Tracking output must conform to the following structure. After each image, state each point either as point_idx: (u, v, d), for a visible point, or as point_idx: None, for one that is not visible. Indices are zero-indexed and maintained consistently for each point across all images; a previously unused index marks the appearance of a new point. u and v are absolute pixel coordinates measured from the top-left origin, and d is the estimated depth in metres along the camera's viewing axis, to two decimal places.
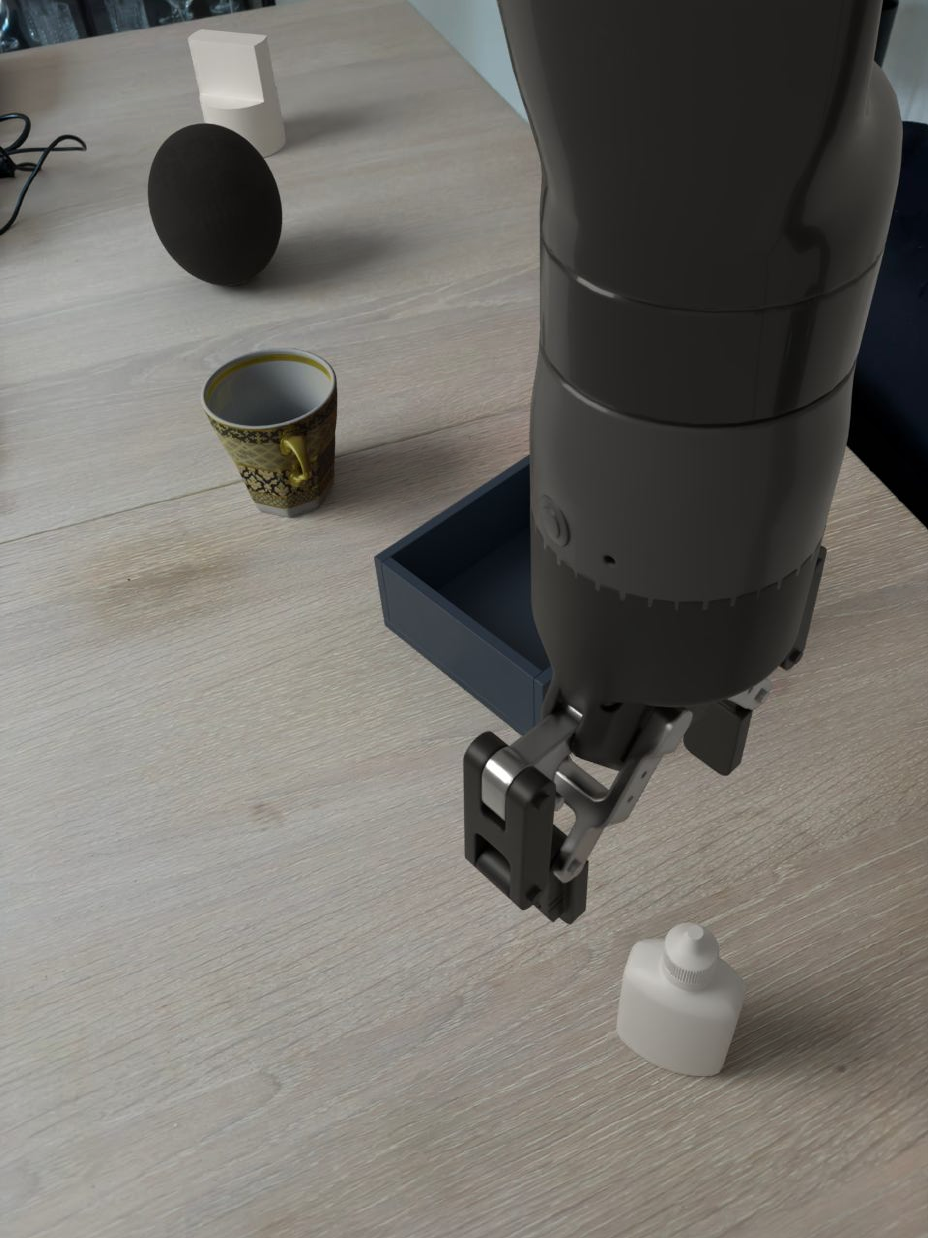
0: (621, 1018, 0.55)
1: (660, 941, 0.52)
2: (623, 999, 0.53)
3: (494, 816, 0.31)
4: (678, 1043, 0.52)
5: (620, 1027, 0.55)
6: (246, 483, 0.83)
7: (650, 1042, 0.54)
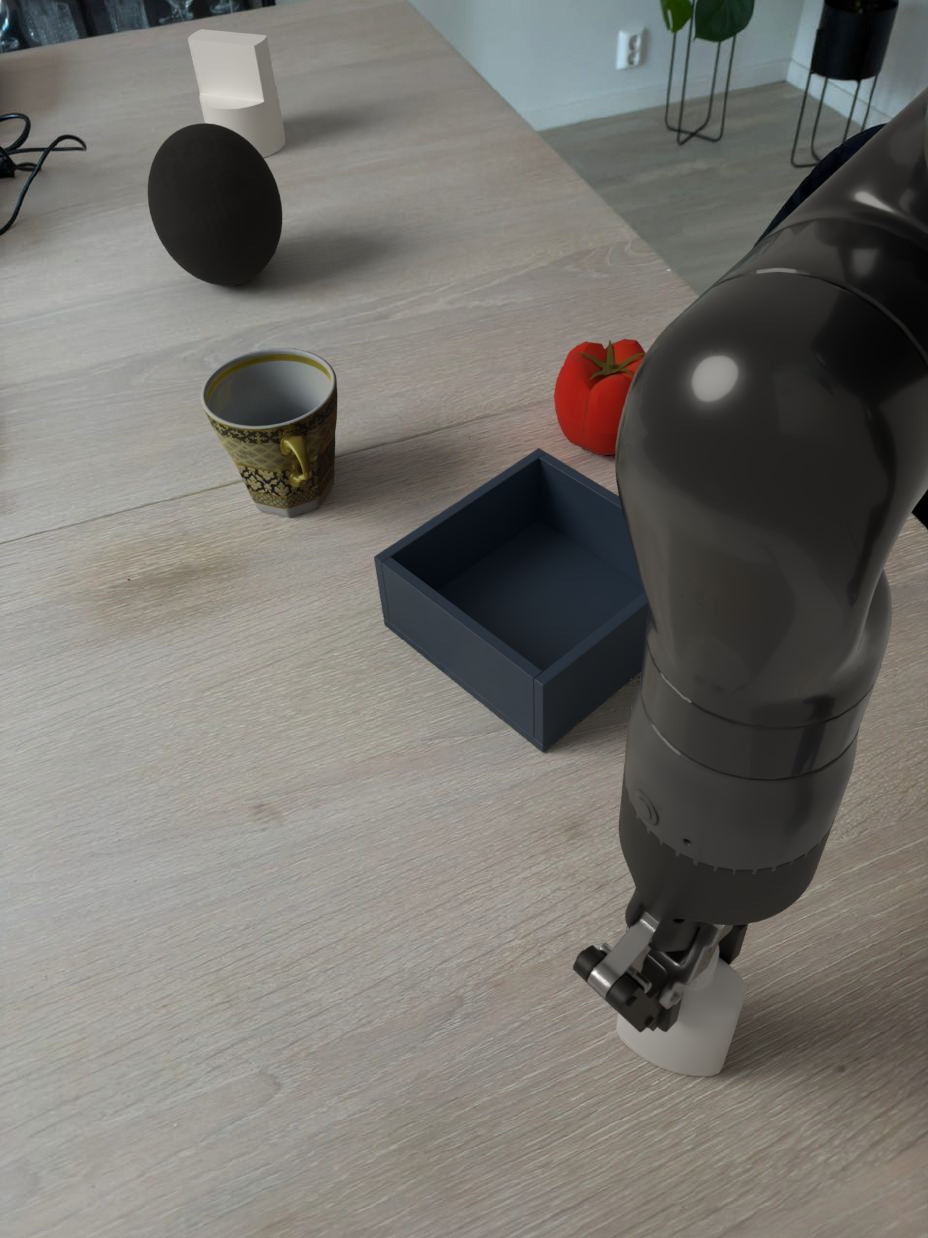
0: (621, 1018, 0.55)
1: None
2: None
3: None
4: (678, 1043, 0.52)
5: (620, 1027, 0.55)
6: (246, 483, 0.83)
7: (650, 1042, 0.54)
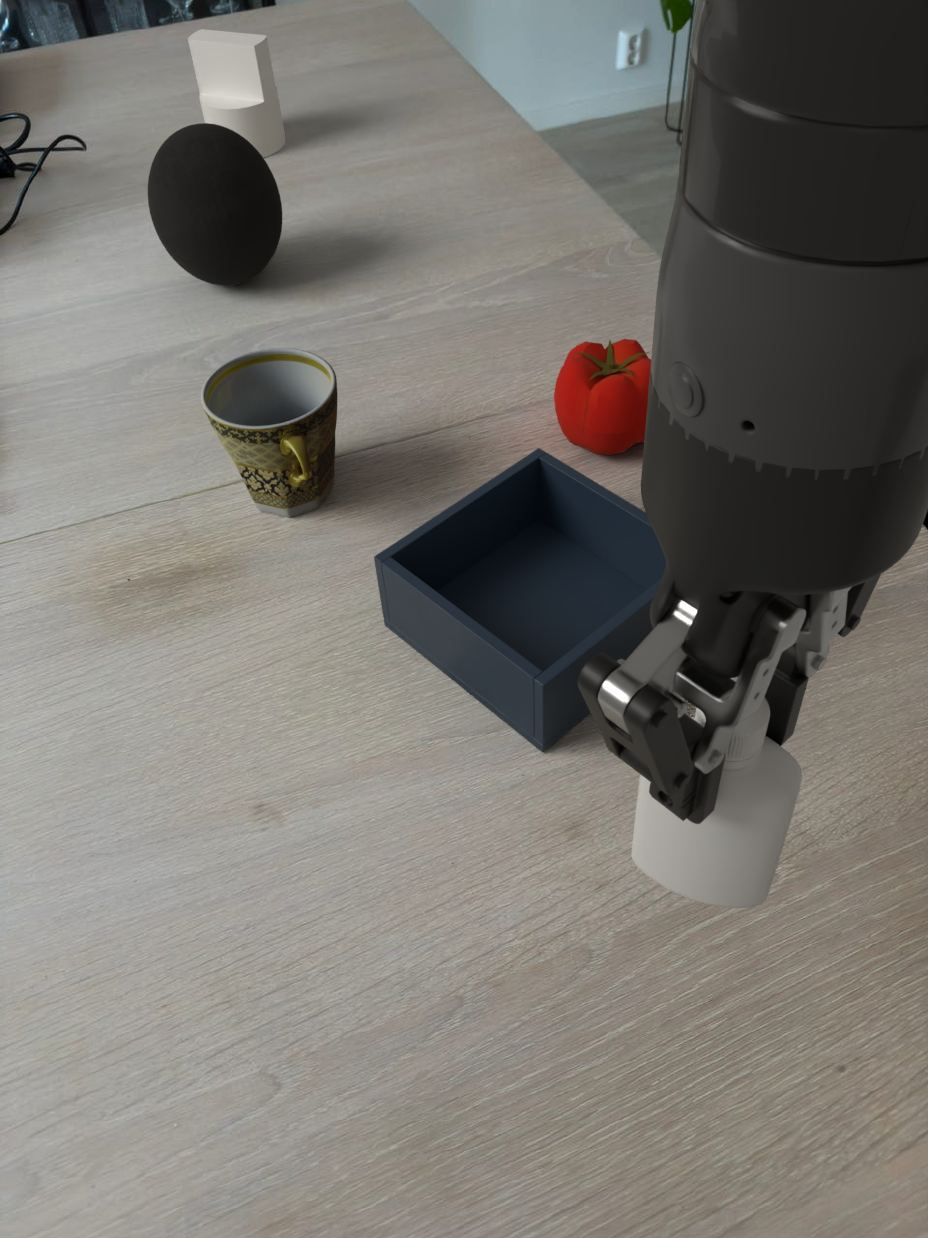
0: (638, 832, 0.43)
1: None
2: (641, 800, 0.41)
3: None
4: (712, 854, 0.41)
5: (637, 847, 0.44)
6: (246, 483, 0.83)
7: (675, 860, 0.42)
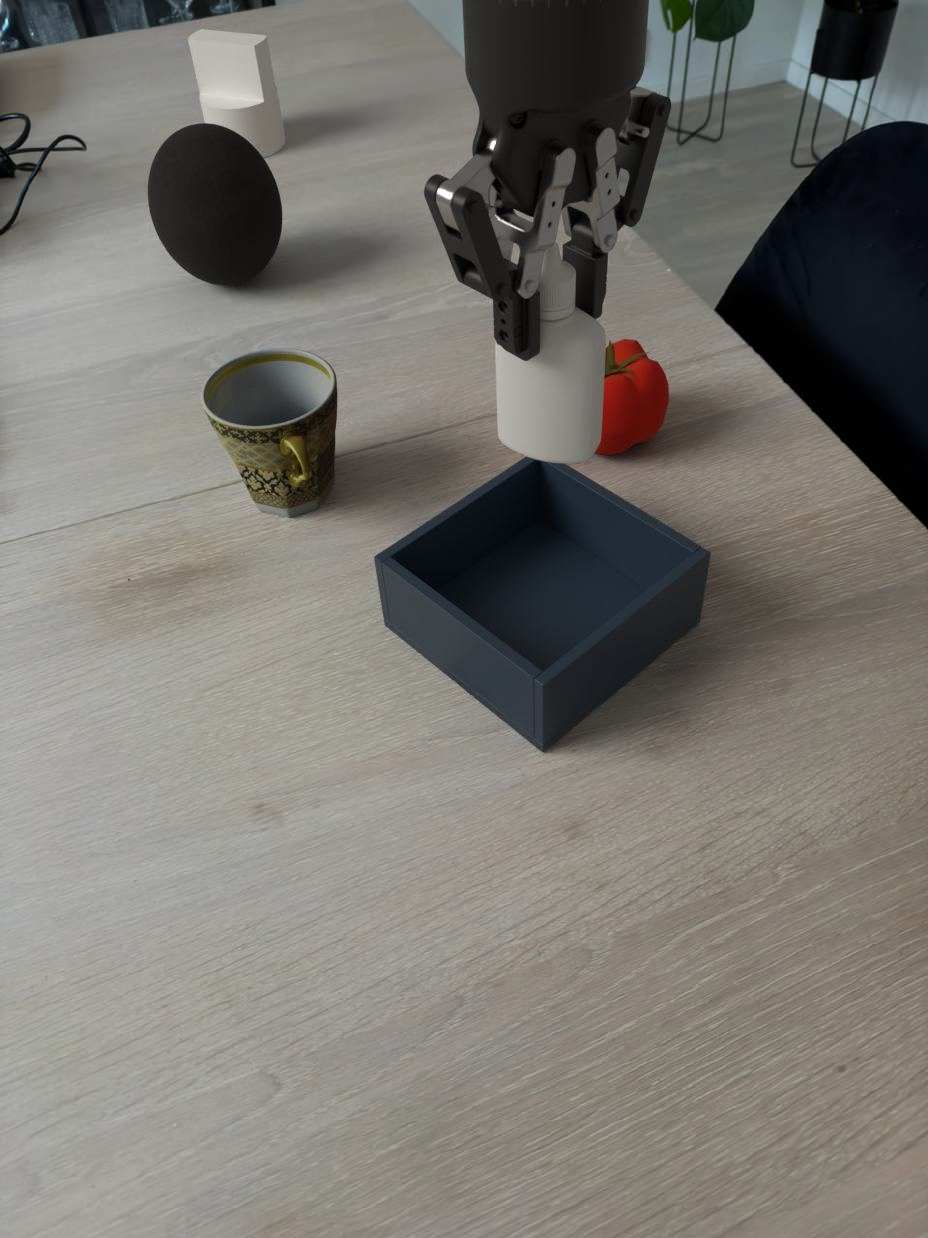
0: (499, 404, 0.59)
1: None
2: (497, 370, 0.57)
3: (457, 234, 0.47)
4: (546, 404, 0.57)
5: (500, 421, 0.60)
6: (246, 483, 0.83)
7: (524, 419, 0.58)
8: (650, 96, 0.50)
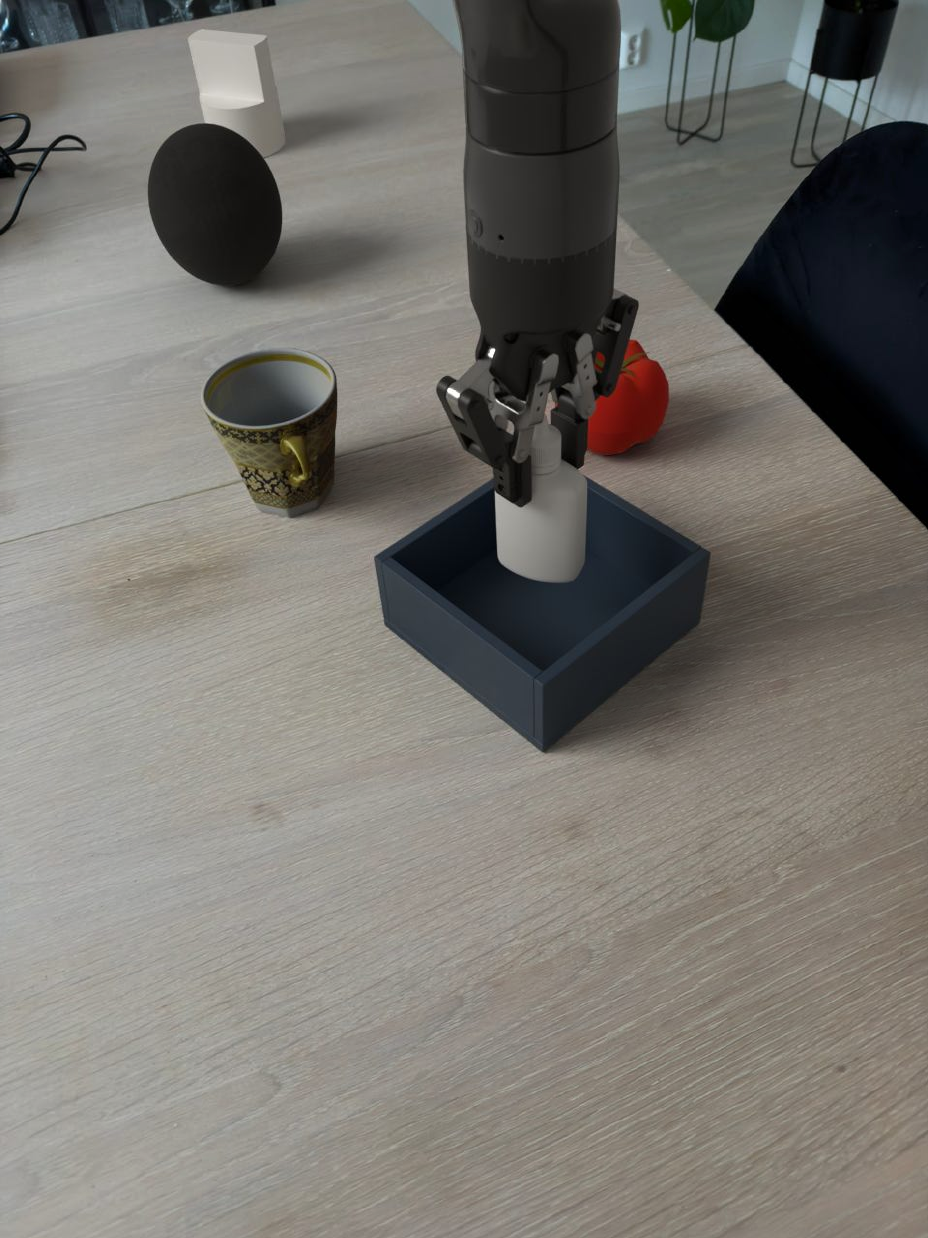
0: (498, 534, 0.70)
1: None
2: (497, 508, 0.68)
3: (462, 420, 0.59)
4: (538, 538, 0.68)
5: (499, 547, 0.71)
6: (246, 483, 0.83)
7: (519, 547, 0.69)
8: (621, 299, 0.61)
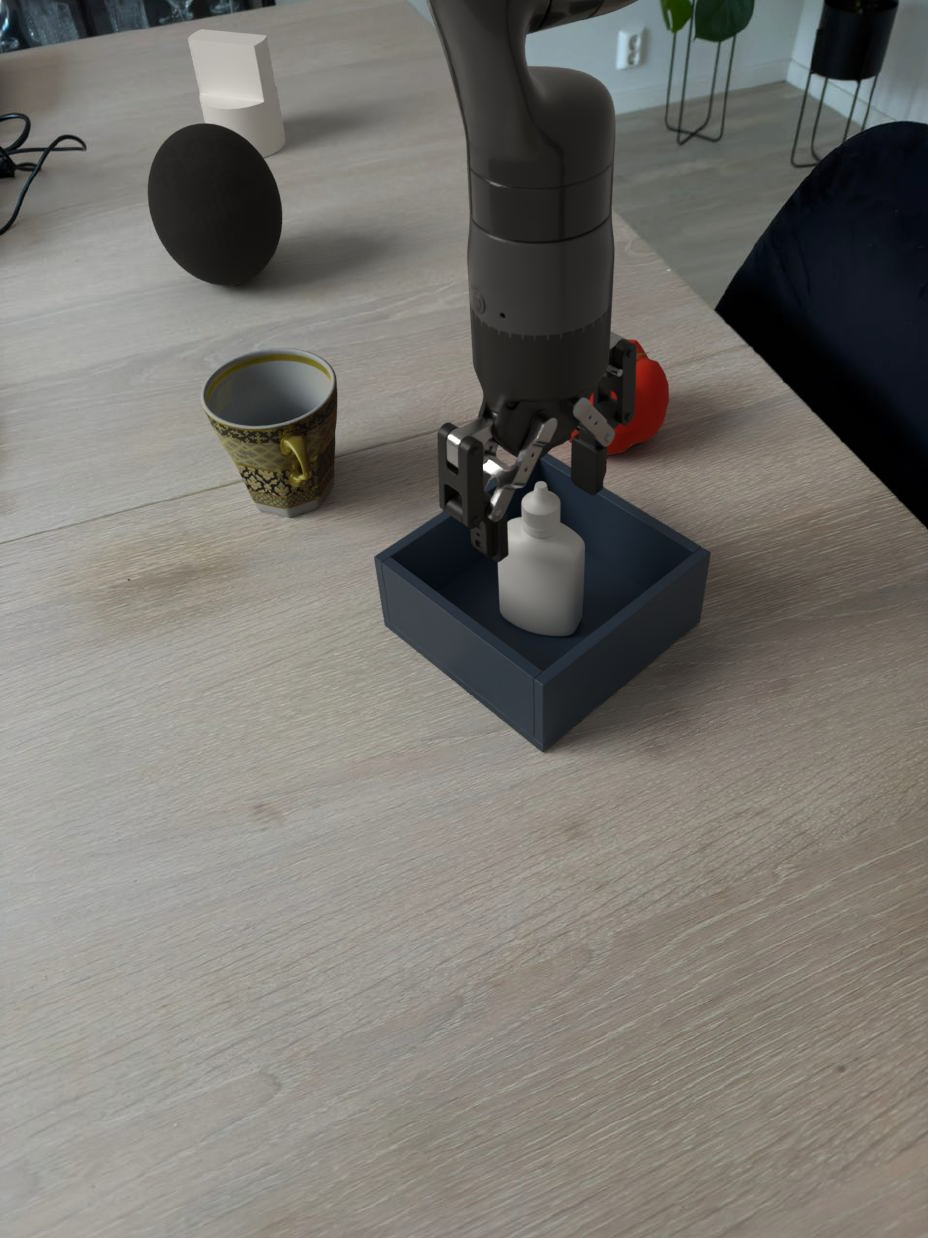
0: (500, 590, 0.74)
1: None
2: (499, 567, 0.72)
3: (453, 470, 0.60)
4: (538, 595, 0.72)
5: (501, 602, 0.75)
6: (246, 483, 0.83)
7: (520, 604, 0.73)
8: (617, 346, 0.64)
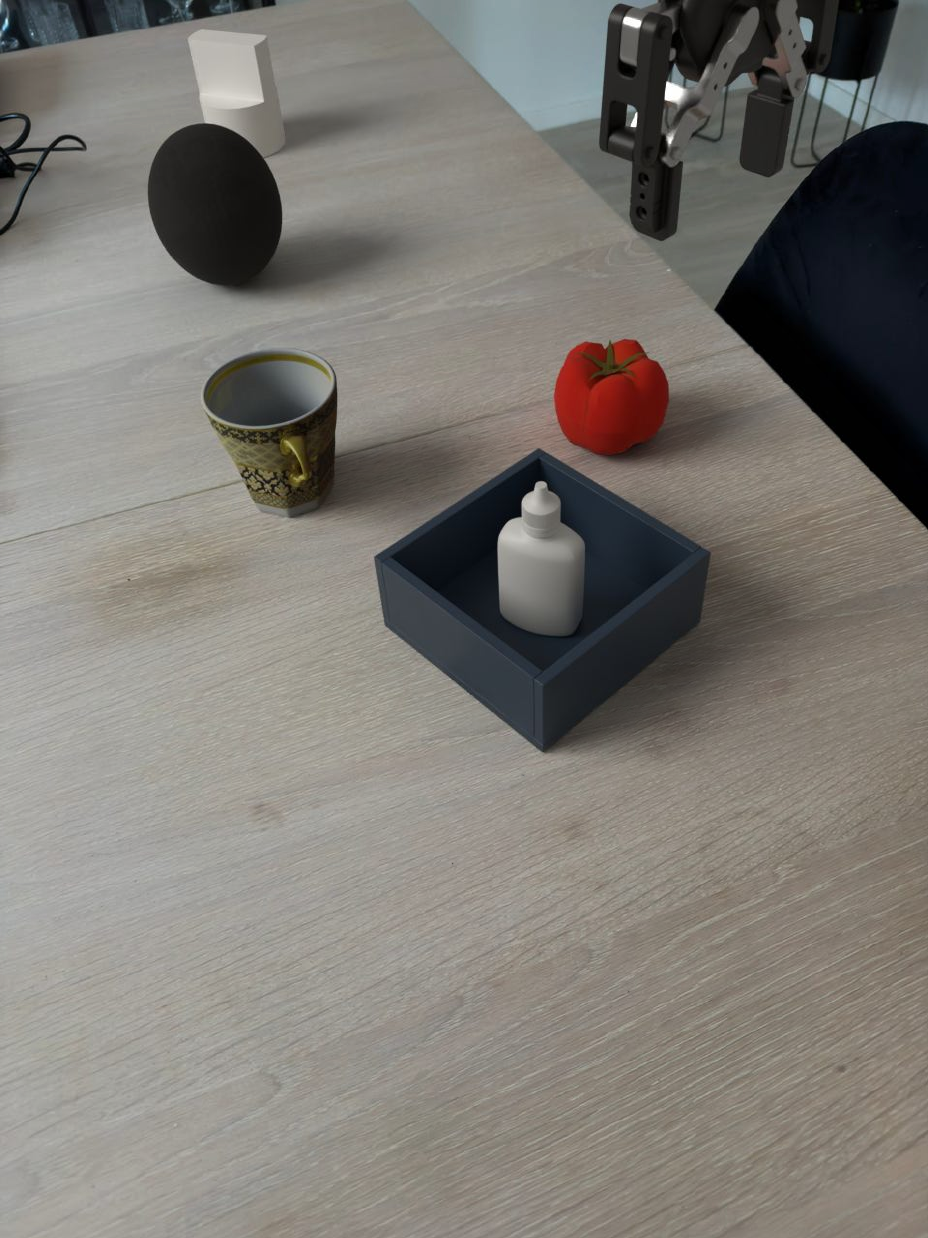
0: (500, 590, 0.74)
1: None
2: (499, 567, 0.72)
3: (626, 74, 0.46)
4: (538, 595, 0.72)
5: (501, 602, 0.75)
6: (246, 483, 0.83)
7: (520, 604, 0.73)
8: None
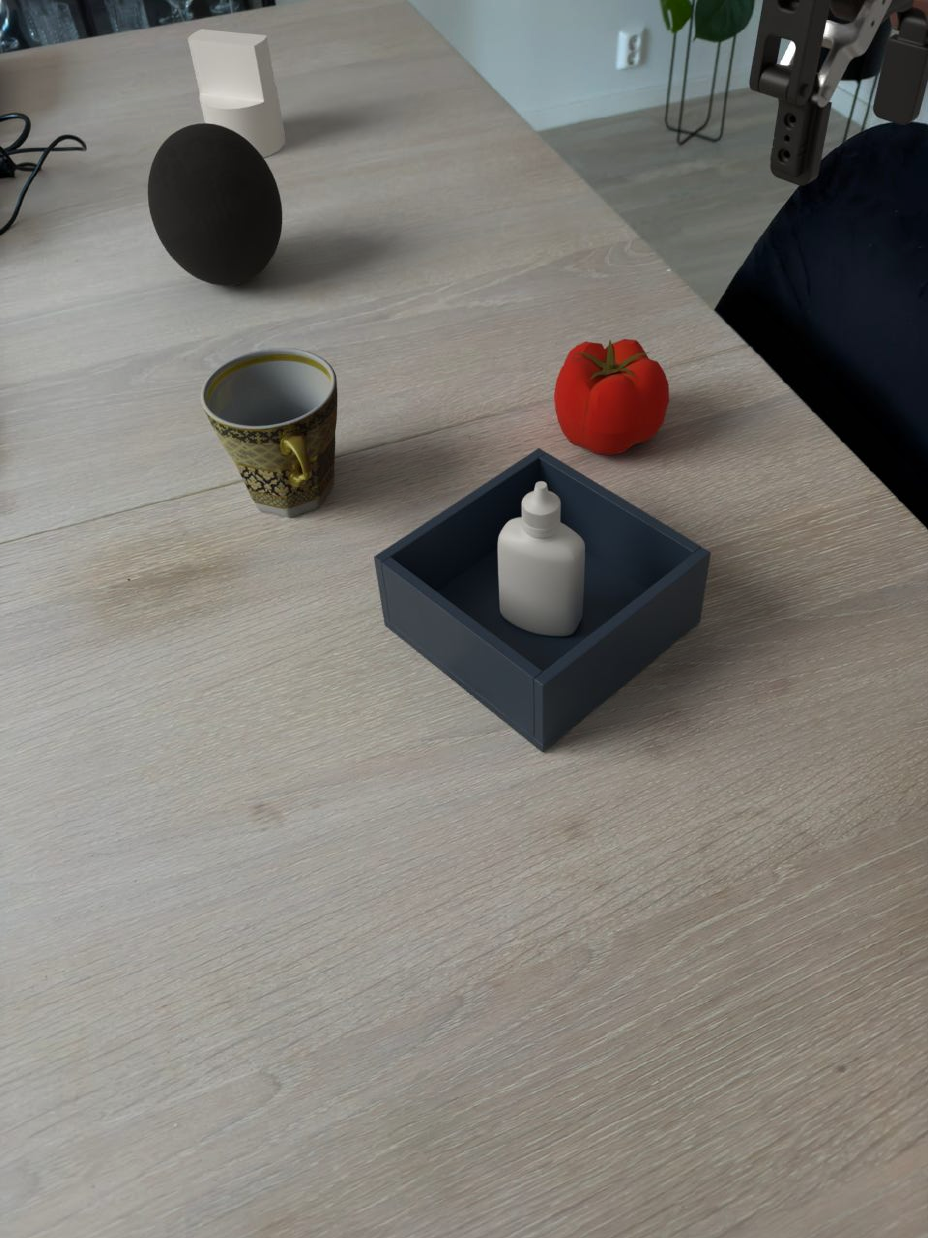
0: (500, 590, 0.74)
1: None
2: (499, 567, 0.72)
3: (786, 7, 0.44)
4: (538, 595, 0.72)
5: (501, 602, 0.75)
6: (246, 483, 0.83)
7: (520, 604, 0.73)
8: None
